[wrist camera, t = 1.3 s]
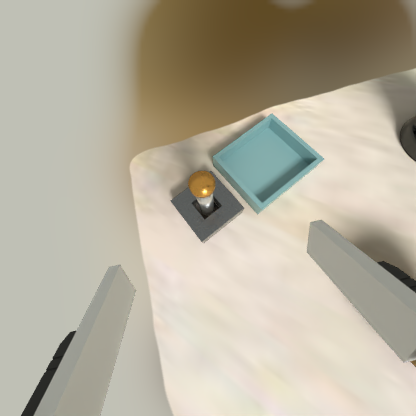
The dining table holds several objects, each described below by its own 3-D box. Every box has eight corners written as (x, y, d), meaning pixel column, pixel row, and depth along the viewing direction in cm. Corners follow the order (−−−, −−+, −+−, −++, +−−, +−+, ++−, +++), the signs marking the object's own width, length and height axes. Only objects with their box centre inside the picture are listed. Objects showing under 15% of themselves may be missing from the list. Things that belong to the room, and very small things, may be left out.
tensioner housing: (211, 178, 42) (210, 170, 38) (241, 212, 39) (244, 208, 35) (175, 205, 41) (170, 200, 37) (203, 243, 38) (201, 241, 34)
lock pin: (209, 197, 41) (204, 165, 26) (220, 210, 40) (220, 184, 25) (195, 208, 40) (182, 181, 26) (206, 221, 39) (199, 201, 25)
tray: (267, 125, 45) (271, 113, 41) (314, 168, 41) (324, 158, 37) (213, 165, 43) (212, 156, 39) (257, 214, 39) (261, 209, 35)
